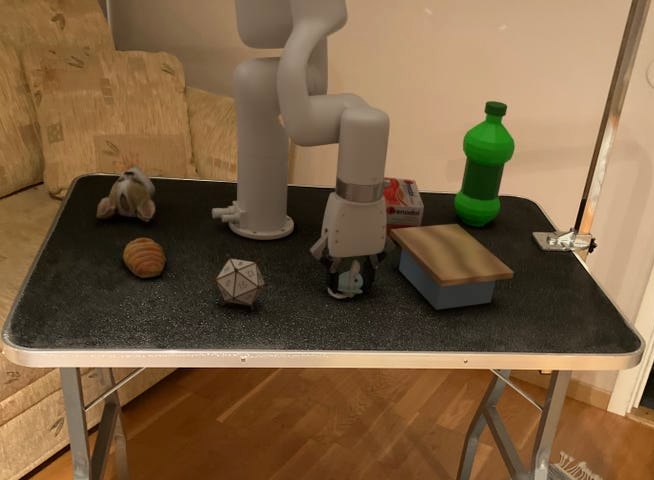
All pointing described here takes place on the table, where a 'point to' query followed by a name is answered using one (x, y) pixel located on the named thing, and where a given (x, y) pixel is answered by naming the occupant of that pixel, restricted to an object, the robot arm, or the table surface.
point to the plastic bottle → (484, 167)
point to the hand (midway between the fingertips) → (349, 287)
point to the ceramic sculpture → (130, 197)
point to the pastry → (144, 257)
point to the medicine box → (402, 205)
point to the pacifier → (349, 282)
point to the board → (450, 254)
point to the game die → (240, 281)
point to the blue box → (444, 287)
